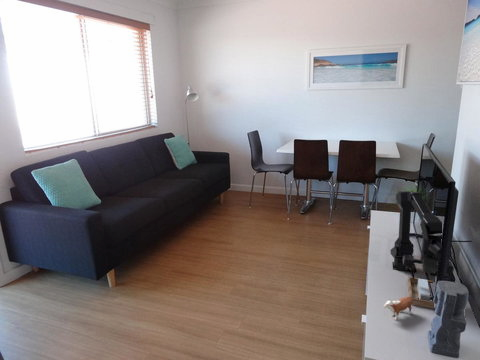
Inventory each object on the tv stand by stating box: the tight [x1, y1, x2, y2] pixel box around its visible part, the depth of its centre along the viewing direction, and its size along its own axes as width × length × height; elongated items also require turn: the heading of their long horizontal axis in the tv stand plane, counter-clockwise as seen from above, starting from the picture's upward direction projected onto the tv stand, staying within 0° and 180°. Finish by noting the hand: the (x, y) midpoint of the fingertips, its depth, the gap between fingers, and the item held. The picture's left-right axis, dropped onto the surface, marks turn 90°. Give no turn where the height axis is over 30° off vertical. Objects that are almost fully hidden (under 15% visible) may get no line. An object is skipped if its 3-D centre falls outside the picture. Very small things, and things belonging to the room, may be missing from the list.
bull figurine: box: [383, 295, 413, 321], centre depth 141 cm, size 4×13×8 cm, turn 111°
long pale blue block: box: [417, 278, 431, 301], centre depth 153 cm, size 13×4×4 cm, turn 159°
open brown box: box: [407, 276, 435, 310], centre depth 154 cm, size 17×11×3 cm, turn 159°
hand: (425, 281), depth 152 cm, fingers open, 9 cm apart
